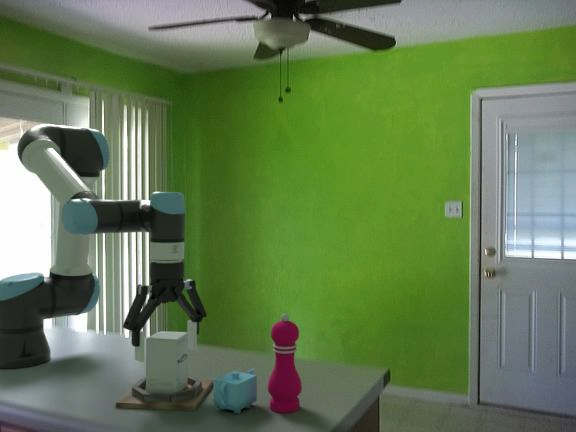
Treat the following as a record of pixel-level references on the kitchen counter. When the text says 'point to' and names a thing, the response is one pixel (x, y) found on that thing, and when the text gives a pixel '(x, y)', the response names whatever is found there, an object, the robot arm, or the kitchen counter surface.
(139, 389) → the collar plate
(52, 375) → the kitchen counter surface
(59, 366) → the kitchen counter surface
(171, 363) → the supplement box
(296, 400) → the pepper mill
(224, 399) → the teapot
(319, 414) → the kitchen counter surface
